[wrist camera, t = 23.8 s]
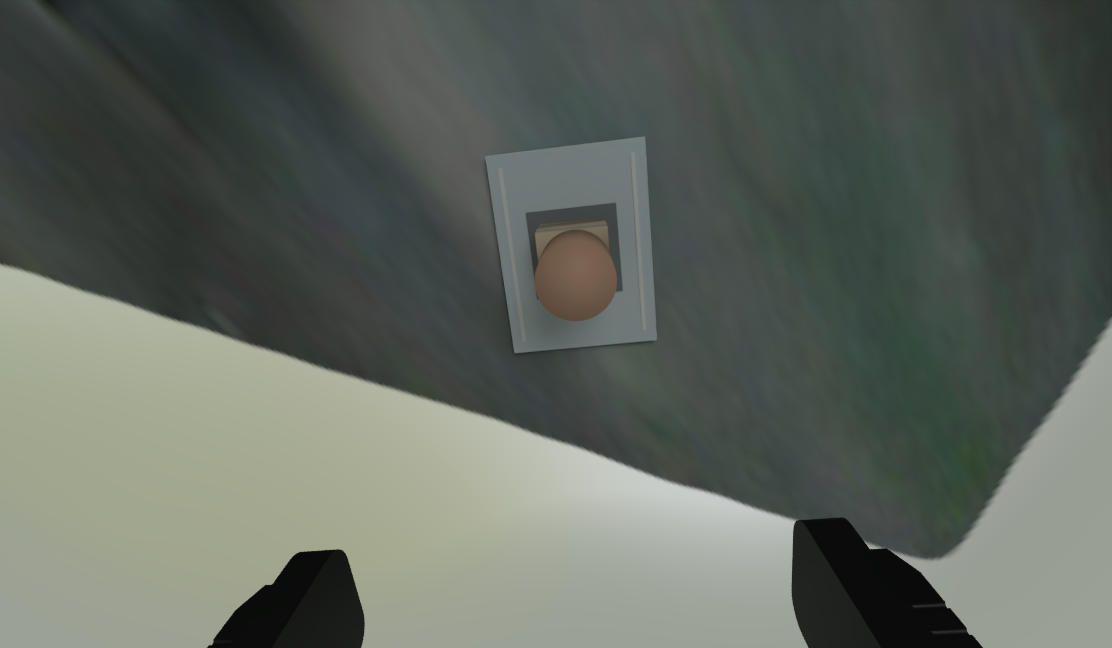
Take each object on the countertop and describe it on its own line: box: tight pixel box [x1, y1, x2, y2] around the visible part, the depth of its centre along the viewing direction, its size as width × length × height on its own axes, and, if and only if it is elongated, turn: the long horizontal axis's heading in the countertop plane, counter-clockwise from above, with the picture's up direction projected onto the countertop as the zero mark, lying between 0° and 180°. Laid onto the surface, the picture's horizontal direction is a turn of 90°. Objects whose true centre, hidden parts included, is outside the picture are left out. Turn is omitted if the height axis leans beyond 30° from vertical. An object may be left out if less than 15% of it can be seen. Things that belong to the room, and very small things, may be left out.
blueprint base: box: [485, 137, 657, 353], centre depth 41 cm, size 16×12×1 cm
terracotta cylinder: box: [534, 229, 617, 321], centre depth 33 cm, size 5×5×5 cm
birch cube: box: [535, 218, 609, 263], centre depth 38 cm, size 5×5×5 cm
